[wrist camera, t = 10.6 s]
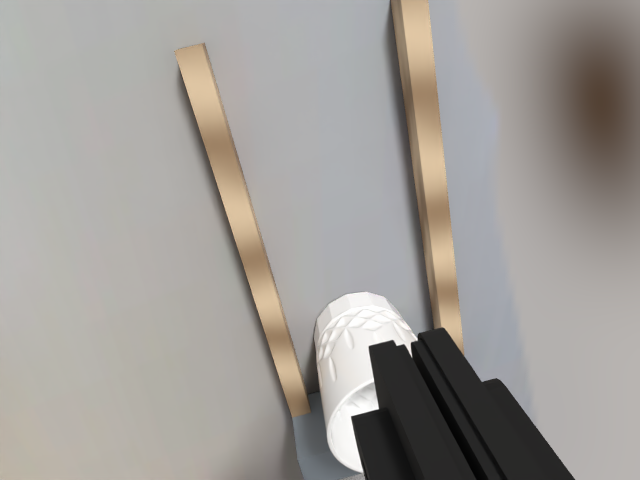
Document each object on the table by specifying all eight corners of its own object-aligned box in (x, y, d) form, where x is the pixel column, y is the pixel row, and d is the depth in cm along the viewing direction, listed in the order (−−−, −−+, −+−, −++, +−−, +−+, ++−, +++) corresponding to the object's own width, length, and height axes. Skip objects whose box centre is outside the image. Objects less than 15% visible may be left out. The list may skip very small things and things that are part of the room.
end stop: (458, 382, 41) (491, 436, 36) (298, 425, 41) (306, 488, 35) (455, 354, 40) (489, 407, 34) (289, 399, 39) (297, 460, 34)
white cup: (394, 371, 40) (439, 475, 31) (299, 368, 38) (317, 476, 29) (417, 287, 37) (474, 375, 28) (314, 280, 35) (340, 370, 26)
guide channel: (455, 354, 40) (465, 370, 38) (289, 399, 39) (292, 417, 37) (415, -8, 28) (427, -9, 26) (178, 49, 28) (174, 51, 26)
